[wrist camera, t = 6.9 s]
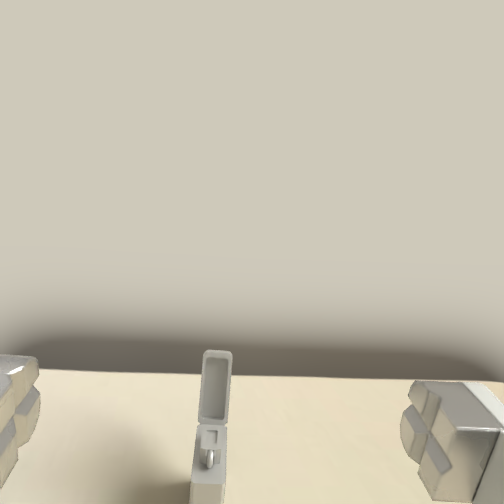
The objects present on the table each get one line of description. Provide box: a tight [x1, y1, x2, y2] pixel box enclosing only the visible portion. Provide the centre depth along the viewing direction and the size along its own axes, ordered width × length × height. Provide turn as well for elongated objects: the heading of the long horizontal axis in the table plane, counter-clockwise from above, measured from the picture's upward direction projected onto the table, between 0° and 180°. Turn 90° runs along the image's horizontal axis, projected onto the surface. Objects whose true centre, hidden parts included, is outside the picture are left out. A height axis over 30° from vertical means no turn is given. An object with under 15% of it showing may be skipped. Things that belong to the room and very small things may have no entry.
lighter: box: [189, 350, 232, 504], centre depth 24 cm, size 7×2×8 cm, turn 2°
